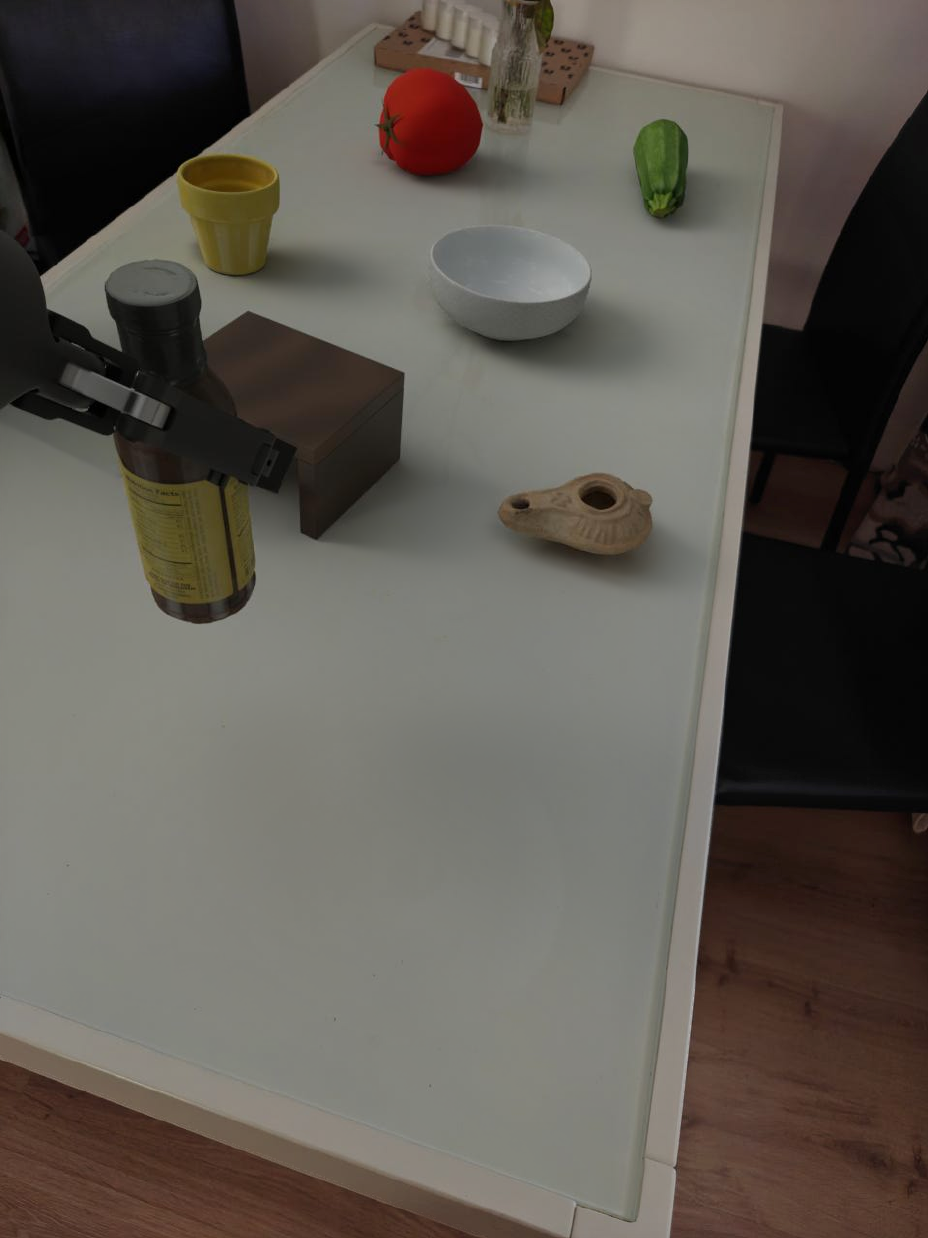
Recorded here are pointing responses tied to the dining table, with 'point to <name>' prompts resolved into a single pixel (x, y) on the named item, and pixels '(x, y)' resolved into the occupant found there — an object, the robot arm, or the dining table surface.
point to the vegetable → (662, 166)
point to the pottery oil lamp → (583, 514)
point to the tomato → (429, 123)
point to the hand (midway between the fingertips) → (229, 444)
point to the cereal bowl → (508, 281)
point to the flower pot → (230, 208)
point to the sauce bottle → (169, 484)
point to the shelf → (314, 409)
